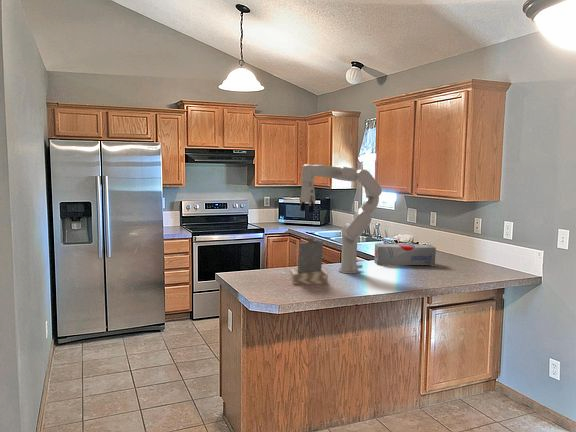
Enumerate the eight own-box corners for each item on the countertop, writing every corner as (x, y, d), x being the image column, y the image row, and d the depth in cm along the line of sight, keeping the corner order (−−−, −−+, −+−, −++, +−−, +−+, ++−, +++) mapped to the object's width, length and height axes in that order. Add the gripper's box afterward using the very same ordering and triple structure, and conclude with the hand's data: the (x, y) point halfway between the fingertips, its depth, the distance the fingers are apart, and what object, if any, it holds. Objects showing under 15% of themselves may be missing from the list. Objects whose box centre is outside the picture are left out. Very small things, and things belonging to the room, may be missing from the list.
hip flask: (299, 273, 272) (301, 239, 269) (295, 271, 275) (297, 237, 272) (322, 271, 280) (324, 237, 277) (318, 269, 283) (320, 236, 280)
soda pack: (429, 263, 340) (431, 244, 339) (435, 267, 327) (436, 247, 326) (373, 261, 340) (374, 242, 338) (376, 265, 327) (377, 245, 326)
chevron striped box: (323, 278, 286) (323, 269, 285) (327, 284, 272) (327, 274, 272) (290, 278, 284) (290, 268, 284) (292, 284, 270) (293, 274, 270)
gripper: (320, 185, 291) (319, 212, 293) (305, 183, 306) (304, 210, 308) (310, 185, 287) (309, 213, 289) (295, 183, 302) (294, 210, 304)
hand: (306, 211), depth 298 cm, fingers open, 9 cm apart
